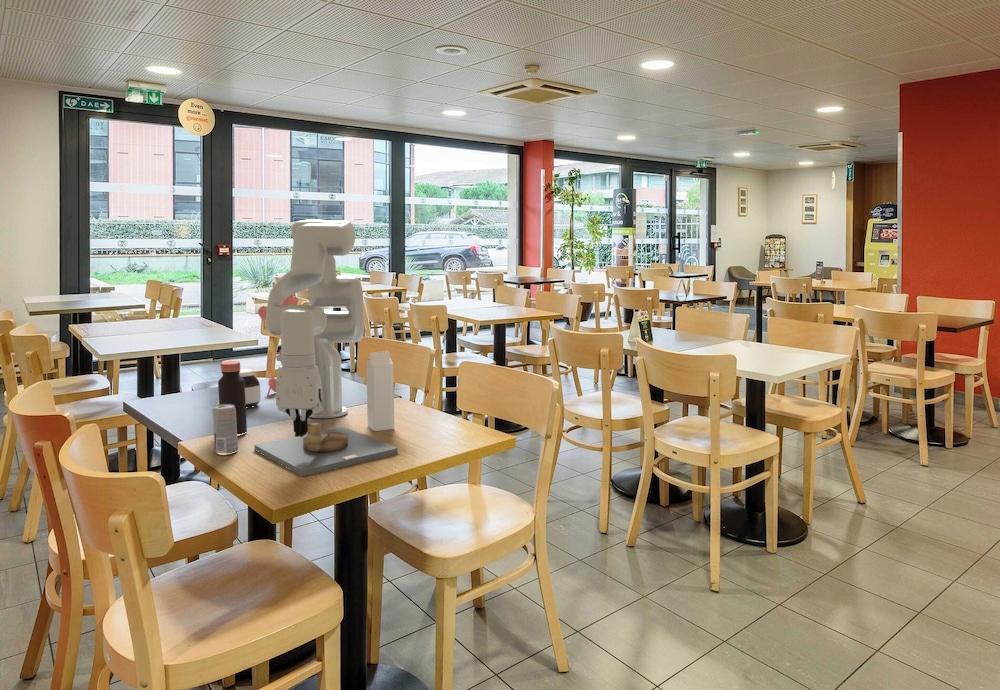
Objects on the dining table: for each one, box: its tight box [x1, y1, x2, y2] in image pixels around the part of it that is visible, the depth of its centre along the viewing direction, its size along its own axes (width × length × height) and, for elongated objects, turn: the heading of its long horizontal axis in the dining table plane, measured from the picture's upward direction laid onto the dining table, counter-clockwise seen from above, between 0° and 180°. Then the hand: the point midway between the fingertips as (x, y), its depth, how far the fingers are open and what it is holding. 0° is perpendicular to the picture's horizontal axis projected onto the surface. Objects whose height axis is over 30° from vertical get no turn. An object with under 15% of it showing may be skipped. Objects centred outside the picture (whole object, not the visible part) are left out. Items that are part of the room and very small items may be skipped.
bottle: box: [217, 360, 248, 434], centre depth 192 cm, size 7×7×20 cm
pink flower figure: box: [257, 294, 299, 397], centre depth 239 cm, size 15×26×35 cm, turn 59°
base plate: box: [254, 426, 399, 477], centre depth 178 cm, size 26×26×2 cm
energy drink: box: [212, 404, 239, 453], centre depth 177 cm, size 5×5×12 cm
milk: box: [365, 351, 395, 432], centre depth 200 cm, size 6×6×22 cm
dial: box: [303, 422, 348, 452], centre depth 175 cm, size 16×11×8 cm
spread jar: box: [216, 368, 261, 408], centre depth 223 cm, size 12×11×12 cm
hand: (301, 435), depth 170 cm, fingers closed
